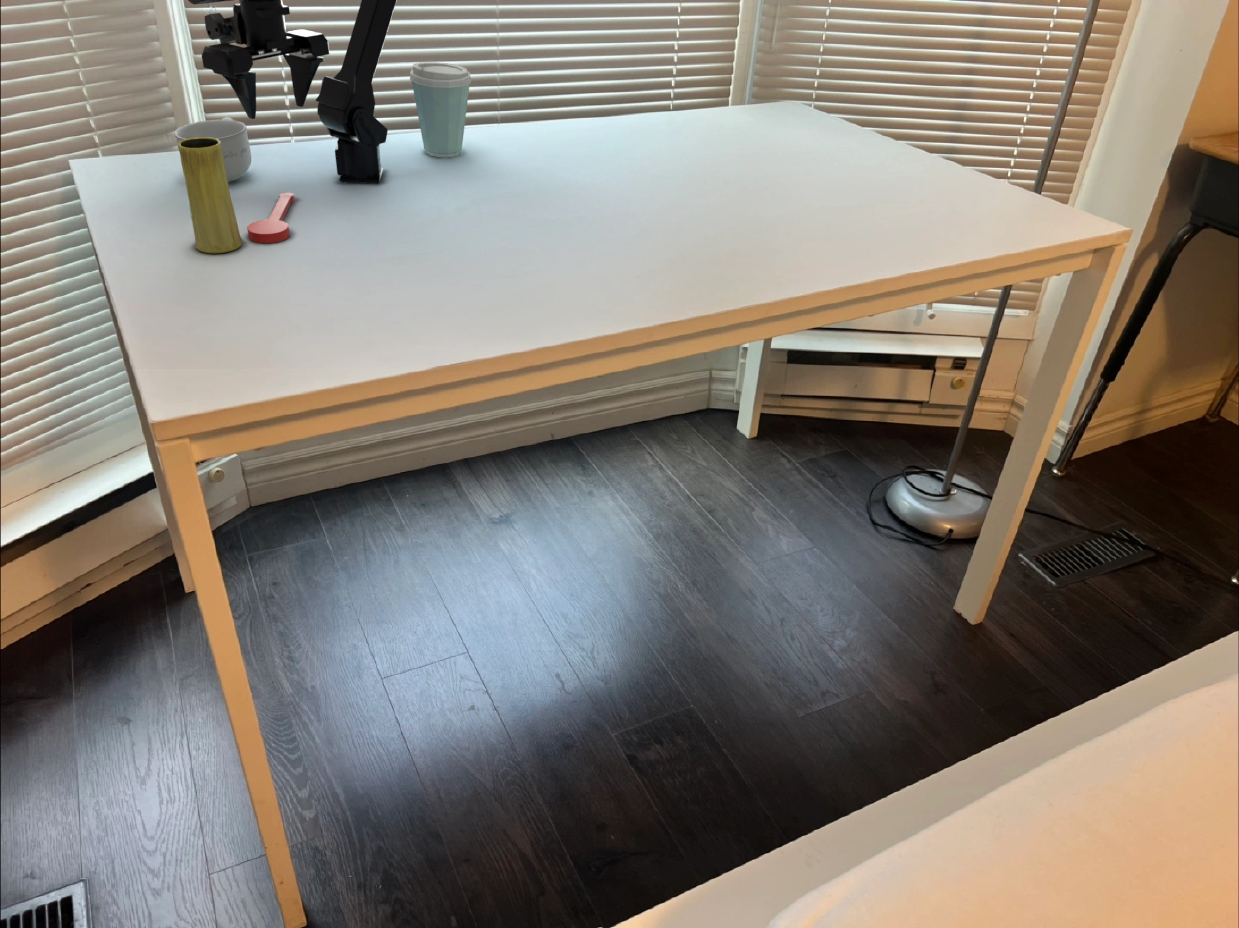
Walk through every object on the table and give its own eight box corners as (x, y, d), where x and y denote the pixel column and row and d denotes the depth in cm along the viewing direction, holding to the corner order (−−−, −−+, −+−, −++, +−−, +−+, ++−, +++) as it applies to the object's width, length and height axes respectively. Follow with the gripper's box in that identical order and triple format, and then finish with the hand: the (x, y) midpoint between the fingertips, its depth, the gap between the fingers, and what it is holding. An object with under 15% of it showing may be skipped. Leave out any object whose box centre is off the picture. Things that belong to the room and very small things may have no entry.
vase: (251, 243, 134) (233, 140, 126) (219, 257, 130) (199, 152, 122) (218, 234, 136) (198, 132, 128) (185, 248, 132) (163, 143, 124)
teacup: (232, 191, 150) (223, 140, 146) (170, 183, 152) (158, 132, 147) (276, 165, 162) (268, 116, 157) (217, 158, 163) (208, 109, 158)
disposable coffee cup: (443, 139, 178) (439, 54, 169) (486, 152, 173) (484, 65, 165) (401, 152, 171) (395, 63, 162) (445, 166, 166) (440, 75, 157)
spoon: (306, 198, 150) (305, 189, 149) (286, 243, 135) (284, 234, 134) (270, 198, 149) (268, 189, 148) (244, 243, 134) (243, 233, 134)
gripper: (271, -18, 143) (286, 90, 152) (164, -4, 130) (187, 114, 139) (325, -7, 139) (337, 104, 148) (220, 8, 126) (240, 129, 134)
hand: (276, 112), depth 142 cm, fingers open, 9 cm apart
